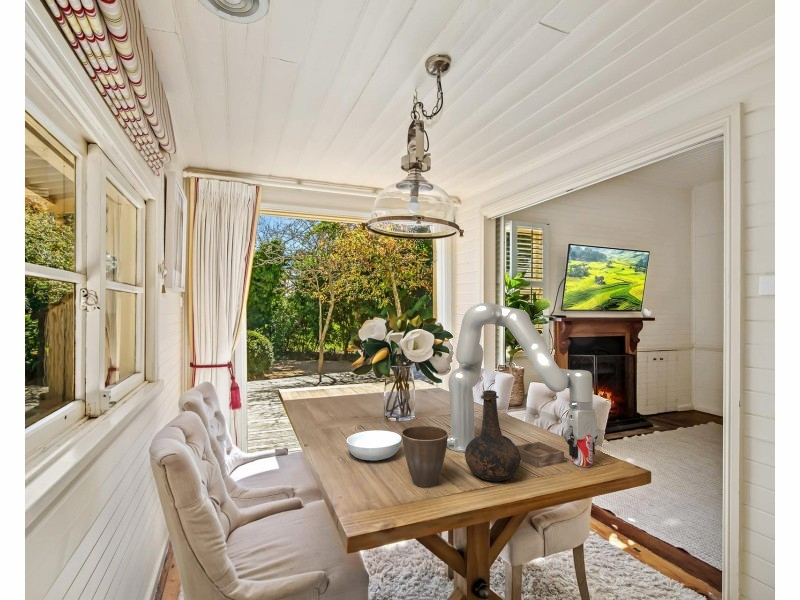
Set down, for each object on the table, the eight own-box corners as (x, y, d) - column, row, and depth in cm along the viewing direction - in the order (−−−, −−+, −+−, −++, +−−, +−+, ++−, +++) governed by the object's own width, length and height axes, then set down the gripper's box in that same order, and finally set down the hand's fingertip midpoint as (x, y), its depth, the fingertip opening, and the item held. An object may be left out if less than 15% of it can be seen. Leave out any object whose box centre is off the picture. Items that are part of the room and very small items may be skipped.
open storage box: (536, 468, 137) (536, 457, 137) (510, 454, 150) (510, 445, 150) (567, 461, 142) (566, 452, 143) (539, 449, 155) (539, 440, 155)
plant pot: (458, 486, 123) (458, 434, 124) (419, 498, 115) (419, 443, 116) (429, 470, 136) (429, 423, 136) (393, 480, 128) (392, 430, 128)
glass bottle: (532, 479, 128) (530, 392, 129) (492, 492, 118) (491, 399, 119) (492, 461, 143) (491, 384, 144) (454, 472, 134) (453, 389, 135)
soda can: (584, 469, 135) (583, 434, 136) (567, 463, 141) (566, 429, 142) (597, 466, 138) (597, 431, 139) (580, 459, 145) (579, 426, 145)
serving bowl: (376, 443, 164) (376, 426, 164) (413, 456, 149) (412, 438, 149) (335, 456, 149) (335, 438, 150) (371, 472, 135) (371, 451, 135)
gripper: (571, 410, 134) (572, 462, 133) (607, 405, 141) (608, 455, 140) (554, 405, 141) (555, 455, 140) (590, 400, 148) (591, 448, 147)
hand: (582, 454), depth 140 cm, fingers open, 7 cm apart
